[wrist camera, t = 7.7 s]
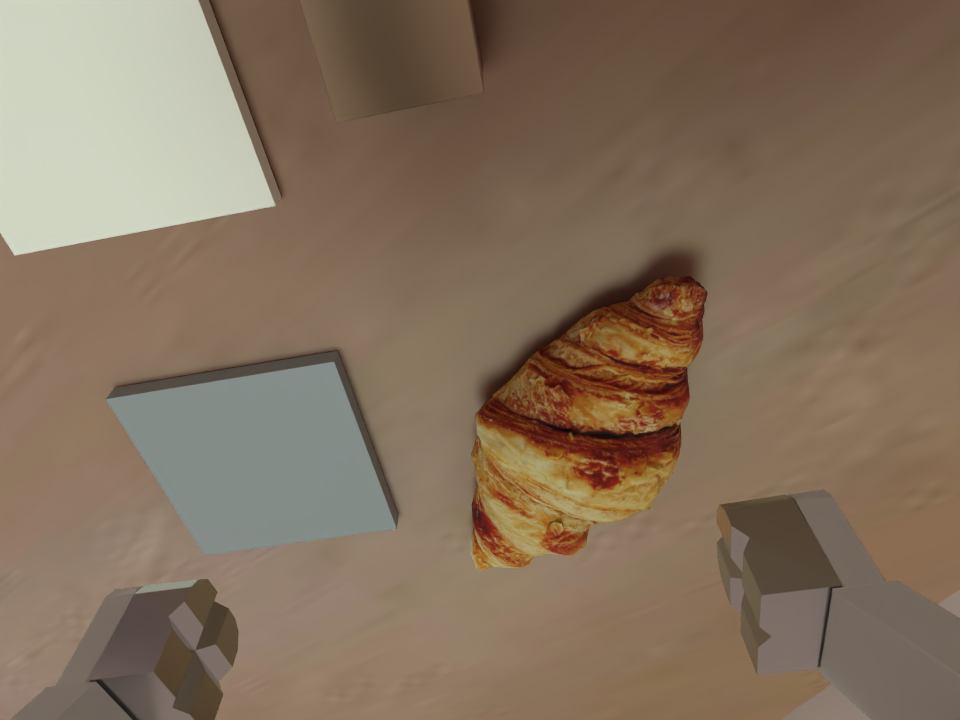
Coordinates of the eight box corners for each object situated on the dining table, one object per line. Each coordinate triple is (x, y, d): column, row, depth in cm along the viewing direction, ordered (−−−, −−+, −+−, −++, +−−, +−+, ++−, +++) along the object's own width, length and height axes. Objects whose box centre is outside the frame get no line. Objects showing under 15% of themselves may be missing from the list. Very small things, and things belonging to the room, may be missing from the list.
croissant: (520, 511, 44) (581, 619, 39) (387, 529, 38) (440, 658, 33) (705, 248, 33) (824, 351, 28) (560, 215, 27) (678, 337, 22)
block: (455, -86, 23) (451, -90, 18) (482, 66, 25) (483, 92, 21) (318, -54, 23) (284, -52, 19) (359, 92, 26) (337, 122, 22)
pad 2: (337, 350, 32) (334, 361, 32) (398, 516, 39) (396, 528, 38) (114, 387, 33) (105, 399, 33) (210, 542, 40) (204, 555, 39)
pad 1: (154, -147, 22) (141, -151, 21) (281, 197, 28) (275, 205, 27) (-165, -68, 23) (-190, -67, 22) (27, 246, 29) (14, 255, 28)
